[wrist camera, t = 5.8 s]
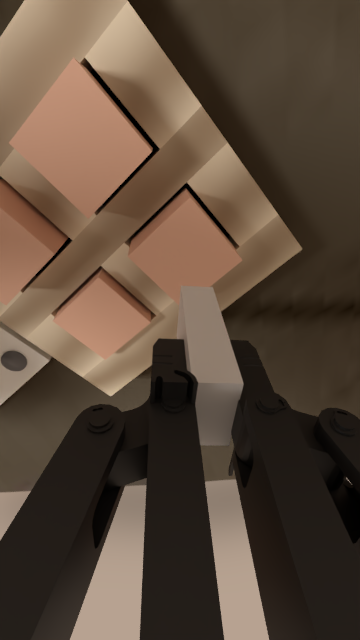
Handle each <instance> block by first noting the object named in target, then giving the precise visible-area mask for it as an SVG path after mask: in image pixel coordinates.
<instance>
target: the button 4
mask: <svg viewBox="0 0 360 640" xmlns="http://www.w3.org/2000/svg"><path fill="white" fill-rule="evenodd" d="M128 257H129V258H130V259H131V260H132V261H133V262H134V263H135V264H136V265H137V266H138V267H139V268H140V269H141V270H142V271H143V272H144V273H145V274H146V275H147V276H148V277H149V278H151V279H152V280H153V281H154V282H155V283H156V284H157V285H158V286H159V287H160V288H161V289H162V290H163V291H164V292H165V293H166V294H167V295H168V296H169V297H170V298H171V299H173V300H174V301H175V302H176V303H177V304H178V305H179V303H180V291H181V286H198V287H210V286H212V285H213V284H214V283H215V282H217V281H218V280H219V279H220V278H221V277H223V276H224V275H225V274H226V273H228V272H229V271H230V270H231V269H233V268H234V267H235V266H236V265H238V264H239V263H240V262H241V261H242V258H241V257H240V255H239V254H238V252H237V251H236V249H235V248H234V246H233V245H232V243H231V242H230V241H229V239H228V238H227V237H226V236H225V235H224V233H223V232H222V231H221V230H220V229H219V227H218V226H217V225H216V224H215V223H214V221H213V220H212V219H211V218H210V216H209V215H208V214H207V213H206V212H205V210H204V209H203V208H202V207H201V206H200V204H199V203H198V202H197V201H196V200H195V198H194V197H193V196H192V195H191V194H190V192H189V191H188V190H187V189H186V187H185V188H184V189H183V190H182V191H181V192H180V193H179V194H178V195H177V196H176V197H175V198H173V199H172V200H171V201H170V202H169V203H168V204H167V205H166V206H165V207H164V208H163V209H162V210H161V211H160V212H159V213H158V214H157V215H156V216H155V217H154V218H153V219H152V220H151V221H150V222H149V223H148V224H147V225H145V226H144V227H143V228H142V229H141V230H140V231H139V232H138V233H137V234H136V235H135V236H134V237H133V238H132V239H131V244H130V248H129V252H128Z"/></svg>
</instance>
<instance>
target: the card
mask: <svg viewBox="0 0 360 640" xmlns="http://www.w3.org/2000/svg"><path fill="white" fill-rule="evenodd" d="M50 359H51V356H50V355H48V354H47V353H46V352H44V351H43V350H41V349H40V348H38V347H37V346H35V345H34V344H32V343H31V342H29V341H28V340H26V339H25V338H23V337H22V336H21V335H19V334H18V333H16V332H15V331H13V330H12V329H10V328H9V327H7V326H6V325H4V324H3V323H1V322H0V405H1V404H2V403H3V402H4V401H6V400H7V399H8V398H9V397H10V396H11V395H12V394H13V393H14V392H16V391H17V390H18V389H19V388H20V387H21V386H22V385H23V384H25V383H26V382H27V381H28V380H29V379H30V378H31V377H32V376H33V375H35V374H36V373H37V372H38V371H39V370H40V369H41V368H42V367H43V366H45V365H46V364H47V363H48V362H49V361H50Z"/></svg>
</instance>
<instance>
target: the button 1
mask: <svg viewBox="0 0 360 640" xmlns="http://www.w3.org/2000/svg"><path fill="white" fill-rule="evenodd" d="M68 238H69V237H68V236H67V235H66V234H65V233H64V232H62V231H61V230H60V229H59V228H58V227H57V226H56V225H55V224H54V223H52V222H51V221H50V220H49V219H48V218H47V217H46V216H45V215H43V214H42V213H41V212H40V211H39V210H38V209H37V208H36V207H35V206H33V205H32V204H31V203H30V202H29V201H28V200H27V199H26V198H24V197H23V196H22V195H21V194H20V193H19V192H18V191H17V190H16V189H14V188H13V187H12V186H11V185H10V184H9V183H8V182H7V181H5V180H4V179H3V178H2V179H0V302H2V303H3V304H4V305H7V304H8V303H9V302H10V301H11V300H12V299H13V298H14V297H15V296H16V295H17V294H18V293H19V292H20V290H21V289H22V288H23V287H24V286H25V285H26V284H27V283H28V282H29V281H30V280H31V279H32V278H33V277H34V276H35V275H36V274H37V273H38V272H39V270H40V269H41V268H42V267H43V266H44V265H45V264H46V263H47V262H48V261H49V260H50V259H51V258H52V257H53V256H54V255H55V253H56V252H57V251H58V250H59V249H60V247H61V246H62V245H63V244H64V243H65V241H66V240H67V239H68Z"/></svg>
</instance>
